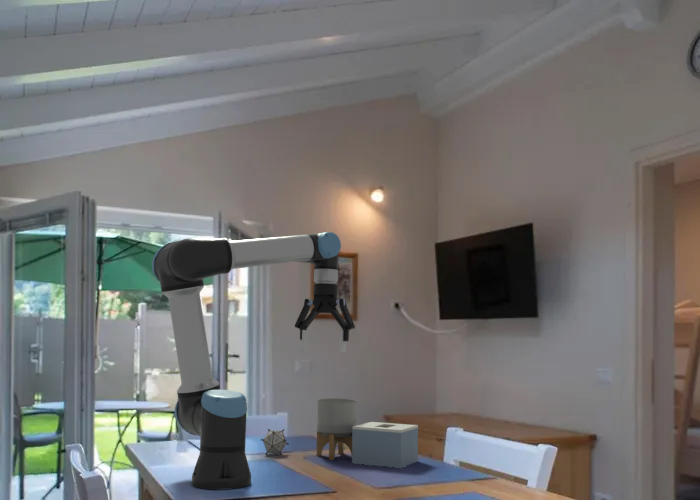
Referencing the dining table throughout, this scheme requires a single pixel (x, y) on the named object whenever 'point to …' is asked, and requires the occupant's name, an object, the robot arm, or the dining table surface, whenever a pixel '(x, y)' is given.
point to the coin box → (385, 444)
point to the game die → (274, 441)
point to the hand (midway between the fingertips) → (323, 351)
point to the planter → (335, 424)
